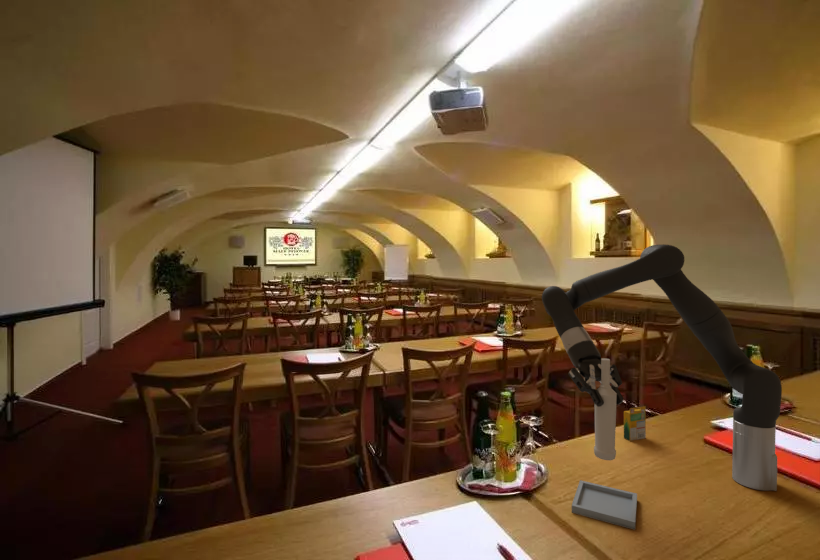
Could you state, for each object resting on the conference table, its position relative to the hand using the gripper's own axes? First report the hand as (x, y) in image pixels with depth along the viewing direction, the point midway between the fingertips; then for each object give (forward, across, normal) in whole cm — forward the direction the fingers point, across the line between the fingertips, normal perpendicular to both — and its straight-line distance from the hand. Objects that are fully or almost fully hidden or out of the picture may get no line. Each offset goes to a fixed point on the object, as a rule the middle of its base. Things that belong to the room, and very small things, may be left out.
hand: (610, 403), depth 104 cm
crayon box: (-5, +40, +44) cm, 59 cm away
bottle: (+9, 0, +12) cm, 14 cm away
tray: (+18, 0, +20) cm, 27 cm away
